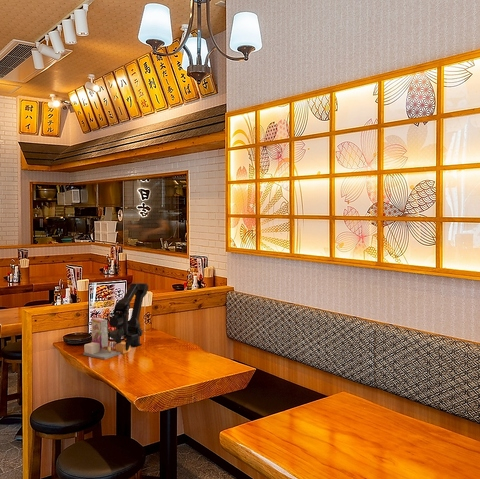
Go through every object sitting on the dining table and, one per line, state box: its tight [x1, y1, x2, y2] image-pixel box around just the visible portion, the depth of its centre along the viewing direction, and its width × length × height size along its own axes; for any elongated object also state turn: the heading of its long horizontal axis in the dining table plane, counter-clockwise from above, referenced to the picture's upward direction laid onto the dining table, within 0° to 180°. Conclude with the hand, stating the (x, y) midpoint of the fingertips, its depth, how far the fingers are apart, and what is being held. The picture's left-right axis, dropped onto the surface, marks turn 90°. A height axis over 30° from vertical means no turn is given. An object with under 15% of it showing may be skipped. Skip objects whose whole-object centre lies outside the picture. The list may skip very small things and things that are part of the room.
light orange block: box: [115, 341, 131, 355], centre depth 292 cm, size 6×6×5 cm
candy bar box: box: [90, 317, 109, 349], centre depth 304 cm, size 11×5×16 cm, turn 47°
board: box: [82, 341, 121, 360], centre depth 286 cm, size 12×17×6 cm
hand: (123, 349), depth 292 cm, fingers closed on light orange block, 6 cm apart
